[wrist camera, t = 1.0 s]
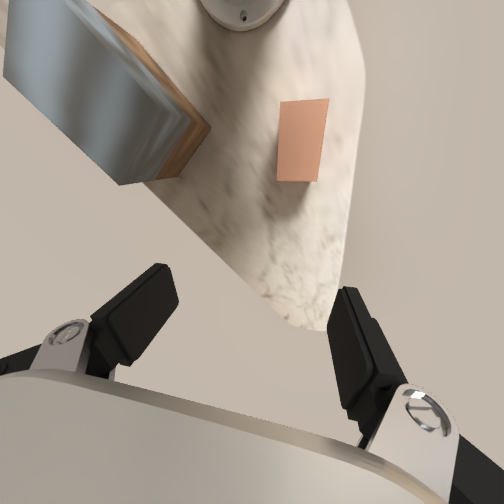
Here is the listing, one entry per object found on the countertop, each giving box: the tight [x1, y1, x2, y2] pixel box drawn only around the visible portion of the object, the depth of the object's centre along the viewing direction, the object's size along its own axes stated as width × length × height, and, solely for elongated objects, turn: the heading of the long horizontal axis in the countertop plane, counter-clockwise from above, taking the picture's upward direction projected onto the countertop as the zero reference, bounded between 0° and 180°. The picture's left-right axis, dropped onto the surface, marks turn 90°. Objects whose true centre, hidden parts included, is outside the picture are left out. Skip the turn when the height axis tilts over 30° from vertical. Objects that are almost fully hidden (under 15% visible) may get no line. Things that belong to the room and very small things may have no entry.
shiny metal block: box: [3, 0, 211, 186], centre depth 22 cm, size 14×10×12 cm
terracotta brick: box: [276, 99, 329, 182], centre depth 23 cm, size 8×5×6 cm, turn 0°
